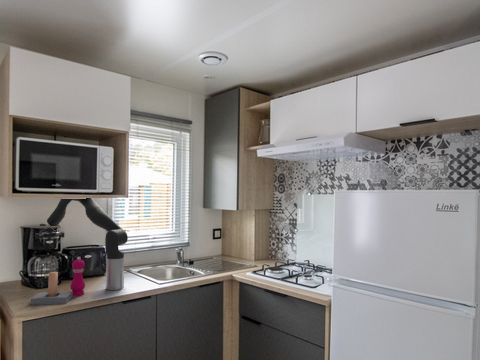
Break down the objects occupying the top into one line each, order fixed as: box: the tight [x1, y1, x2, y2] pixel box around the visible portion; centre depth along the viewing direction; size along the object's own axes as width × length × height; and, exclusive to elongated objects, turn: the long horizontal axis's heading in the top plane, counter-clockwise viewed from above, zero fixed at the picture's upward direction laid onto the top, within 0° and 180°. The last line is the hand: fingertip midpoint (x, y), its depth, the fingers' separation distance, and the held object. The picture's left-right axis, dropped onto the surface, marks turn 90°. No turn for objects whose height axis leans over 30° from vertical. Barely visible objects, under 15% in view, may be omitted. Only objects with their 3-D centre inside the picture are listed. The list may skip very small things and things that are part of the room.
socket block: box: [30, 291, 74, 306], centre depth 170 cm, size 16×10×3 cm, turn 100°
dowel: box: [47, 271, 59, 297], centre depth 170 cm, size 4×4×14 cm
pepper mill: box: [69, 256, 86, 297], centre depth 182 cm, size 7×7×20 cm
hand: (51, 236), depth 186 cm, fingers open, 8 cm apart
